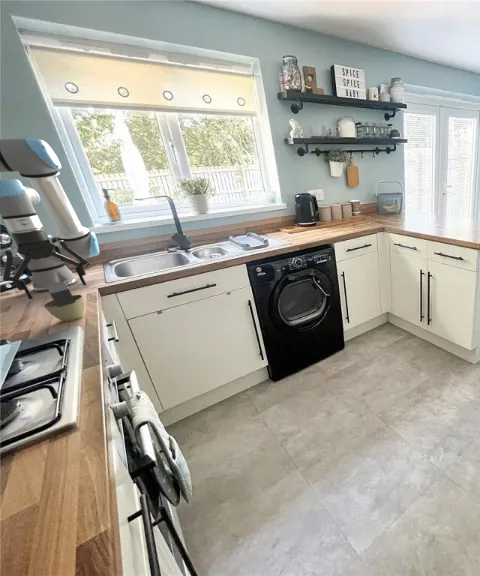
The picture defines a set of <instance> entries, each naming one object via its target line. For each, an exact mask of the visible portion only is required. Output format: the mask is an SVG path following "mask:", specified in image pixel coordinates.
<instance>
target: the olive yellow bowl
mask: <svg viewBox="0 0 480 576" xmlns="http://www.w3.org/2000/svg"><path fill="white" fill-rule="evenodd" d="M72 296H73V298H74V300H75V303H72V304H68V305H65V306H61V307H57V306H56V304H55V302H54V300H53V299H52V300H51V301H48V302H46V303H45V304H44V305H43V307H44V308H45V310H46V311H47V312H48V313H50V315H52V316H54V317H55V318H56V319H58V320H60V321H62V322H67V323H68V322H73V321H76V320H78V319H80V318H82V317H83V315H84V311H85V300H84V296H83V295H82V294H72Z"/></svg>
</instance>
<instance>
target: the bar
mask: <svg viewBox="0 0 480 576" xmlns="http://www.w3.org/2000/svg"><path fill="white" fill-rule="evenodd" d="M47 287H48V290H47V291H48V292H49V294H50V296H51V298H52V301H53V300H54V302H55V304H56V306H57V307H61V306H65V305H68V304H72V303H75V300H74V298H73V296H72V295H73V294H72V292H71V290H70V289H69V287H68V286H66V284H65V282H60V283H55V284H51V285H47Z"/></svg>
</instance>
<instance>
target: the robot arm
mask: <svg viewBox="0 0 480 576" xmlns="http://www.w3.org/2000/svg"><path fill="white" fill-rule="evenodd" d="M60 169H62V165H61V162H60V161H59V158H58V156H57V155H56V153H55V152H54V150H53V149H52V148H51V146H50V145H49V144H48V143H47V142H46V141H44V140H43V139H39V138H27V137H26V138H0V173H9V172H10V173H13V172H18V173H19V175H20V177H21V178H23V179H26V180H28V181H29V183H30V184H31V187H30V186H26V185H23V184H22V182H21V181H20V180H19V179H16V178H13V179H12V178H11V179H0V217H1V219H2V220H3V223H4V224H5V226H6V228H7V230H8V232H10V233H11V237H12V239H13V241H14V242H15V244H16V246H17V248H16V249H8V248H7V249H4V254H5V257H6V258H5V259H6V260H5V264H4V272H3V276H2V281H3V282H13V283H14V284H15V287H16V289H17V290H18V291H24V293H25V294H26V296H27V298H28V299H29V300H33V299H34V298H33V295H32V293H31V292H30V290H29V288H28V286H27V284H26V283H25V281H24V279H23V278H21V277H22V275H23V273H24V272H25V270H26V268H27V267H28V270H29V271H30V273H31V276H32V277H31V278H32V288H33V290H34V291H35V292H46V291H49V290H48V287H47V285H51V284H55V283H60V282H65V284H66V286H67V287H68V286H71V285H73V284H75V283H78V282H79V279H80V281H81V284H82V286H87V282H86V280H85V279H84V277H85V276H86V275H87V274H86V271H85V269H88V268H91V267H92V263H91V262H88V261H87V260H86V259H90V258H92V257H98V256H99V254H100V247H99V246H100V245H99V242H98V238H97V235H96V233H95V232H94V231H90V229H88V228H87V227H85V226H83V225H82V223H81V222H80V220H79V217H78V215H77V214H76V211H75V210H74V208H73V206H72V204H71V201H70V200H69V198H68V196H67V194H66V192H65V190H64V188H63V186H62V184H61V183H60V180H59V178H58V176H59V175H60ZM40 202H41V204H42V206H43V207H44V209H45V211H46V213H47V214H48V216H49V218H50V219H51V221H52V223H53V225H54V227H55V228H56V230H57V232H56V233H55V237H53V235H51V234H48V233H47V231H46V230H45V229H44V228H43V227H44V225H43V223H42V222H41V219H40V217H39V215H38V214H37V212H36V210H35V208H36V207H37V206H38V205H39V204H40ZM17 254H20V255H21V257H22V258H23V259H22V261H21V262H20V264H19V266H18V268H17V270H16V271H15V273H14V274H13V276H11V272H12V267H13V262H14V257H16V256H17ZM76 260H78V261H79V262H78V261H76ZM65 262H66V263H68V264H70V265H73V266H75V267H74V270H70V269H69V268H68V267H67V265H66V263H65ZM87 263H88V264H87ZM85 265H87V266H85ZM84 266H85V267H84ZM75 272H76V274H77V275H75ZM77 276H78V277H77ZM78 278H79V279H78Z"/></svg>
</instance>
